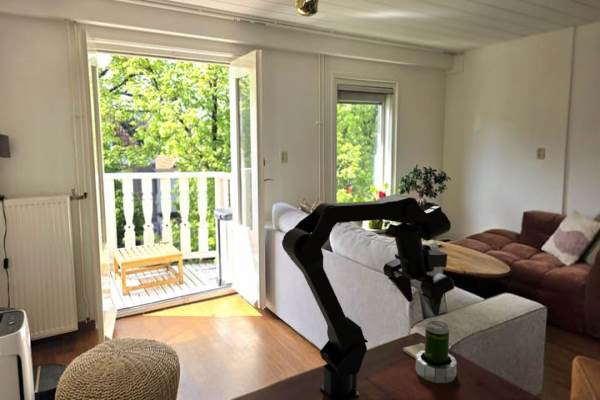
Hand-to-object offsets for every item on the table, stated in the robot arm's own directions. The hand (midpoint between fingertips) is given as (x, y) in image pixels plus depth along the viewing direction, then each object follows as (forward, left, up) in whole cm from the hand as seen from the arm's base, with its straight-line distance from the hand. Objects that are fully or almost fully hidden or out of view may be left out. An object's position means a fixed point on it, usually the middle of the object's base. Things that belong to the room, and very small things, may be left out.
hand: (422, 307), depth 99 cm
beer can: (+3, -2, -16) cm, 16 cm away
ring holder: (+3, -2, -16) cm, 16 cm away
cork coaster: (+6, +6, -16) cm, 18 cm away
